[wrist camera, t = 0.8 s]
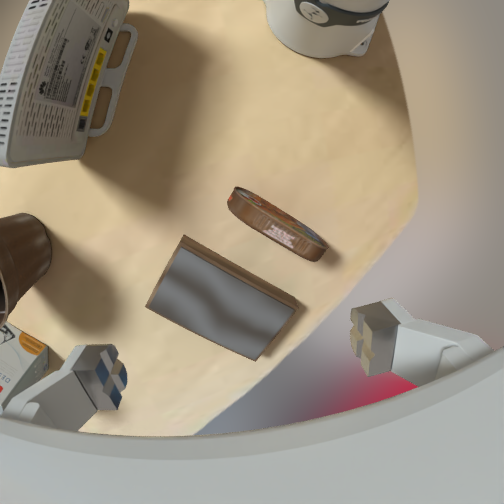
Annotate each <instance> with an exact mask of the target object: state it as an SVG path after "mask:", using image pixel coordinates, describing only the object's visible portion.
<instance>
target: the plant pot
mask: <svg viewBox="0 0 504 504" xmlns="http://www.w3.org/2000/svg"><path fill="white" fill-rule="evenodd" d="M50 262H51V244H50V240H49V239H48V237H47V235H46V233H45V228H44V227H43V225H42V224H41V223H40V222H39V221H38V220H37V219H36V218H35V217H33V216H32V215H29V214H26V213H19V214H16V215H12V216H8V217H4V218H0V329H1V328H2V327H3V326H4V324H5V323H6V321H7V318H8V315H9V314H10V313H11V312H12V311H13V309H14V308H15V306H16V304H17V302H18V301H19V300H20V298H21V297H22V296H23V295H24V294H25V293H26V292H27V291H28V290H29V289H30V288H31V287H32V286H33V285H34V284H35V283H36V282H37V281H38V280H39V279H40V278H41V277H42V276H43V275H44V274H45V273H46V271H47V270H48V268H49V266H50Z"/></svg>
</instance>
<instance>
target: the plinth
mask: <svg viewBox="0 0 504 504" xmlns="http://www.w3.org/2000/svg"><path fill="white" fill-rule="evenodd" d="M145 307H146V308H148V309H150V310H151V311H153V312H155V313H157V314H159V315H161V316H163V317H164V318H166V319H168V320H170V321H172V322H174V323H176V324H178V325H180V326H182V327H183V328H185V329H187V330H189V331H191V332H193V333H195V334H197V335H199V336H201V337H203V338H205V339H208V340H210V341H212V342H214V343H216V344H218V345H220V346H222V347H224V348H226V349H229V350H231V351H233V352H235V353H237V354H240V355H242V356H244V357H246V358H248V359H251V360H253V361H255V362H256V361H257V359H258V358H259V357H260V356H261V355H262V353H263V352H264V351H265V350H266V348H267V347H268V346H269V345H270V344H271V342H272V341H273V340H274V339H275V337H276V336H277V335H278V334H279V332H280V331H281V330H282V329H283V327H284V326H285V325H286V323H287V322H288V321H289V320H290V318H291V317H292V316H293V314H294V313H295V312H296V311H297V309H298V308H299V307H298V305H297V303H296V300H295V298H294V297H293V296H291V295H289V294H288V293H286V292H284V291H282V290H280V289H279V288H277V287H275V286H273V285H272V284H270V283H268V282H266V281H264V280H263V279H261V278H259V277H257V276H256V275H254V274H252V273H250V272H248V271H247V270H245V269H243V268H241V267H240V266H238V265H236V264H234V263H233V262H231V261H229V260H227V259H226V258H224V257H222V256H220V255H219V254H217V253H215V252H213V251H212V250H210V249H208V248H206V247H205V246H203V245H201V244H199V243H198V242H196V241H194V240H192V239H191V238H189V237H187V236H186V235H184V236H183V237H182V239H181V241H180V243H179V244H178V246H177V248H176V250H175V251H174V253H173V255H172V257H171V259H170V260H169V262H168V264H167V266H166V268H165V270H164V271H163V273H162V275H161V277H160V279H159V281H158V283H157V284H156V286H155V288H154V290H153V292H152V294H151V296H150V298H149V300H148V302H147V304H146V306H145Z"/></svg>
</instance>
